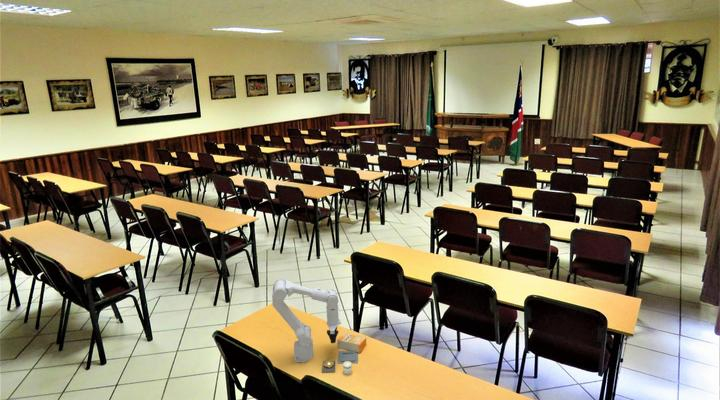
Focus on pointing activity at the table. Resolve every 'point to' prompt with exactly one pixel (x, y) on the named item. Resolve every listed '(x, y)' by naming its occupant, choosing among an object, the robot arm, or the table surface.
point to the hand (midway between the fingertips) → (333, 338)
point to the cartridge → (347, 368)
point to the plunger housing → (328, 368)
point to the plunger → (328, 363)
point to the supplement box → (351, 342)
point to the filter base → (347, 357)
